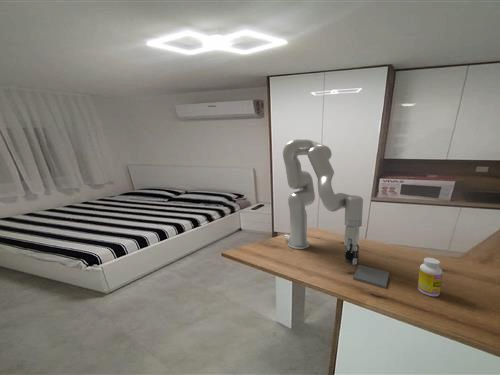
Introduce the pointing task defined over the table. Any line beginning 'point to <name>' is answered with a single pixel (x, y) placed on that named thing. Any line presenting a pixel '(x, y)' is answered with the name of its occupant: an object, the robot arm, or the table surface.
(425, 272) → the supplement bottle
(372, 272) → the plate
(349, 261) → the pill bottle
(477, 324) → the table surface
